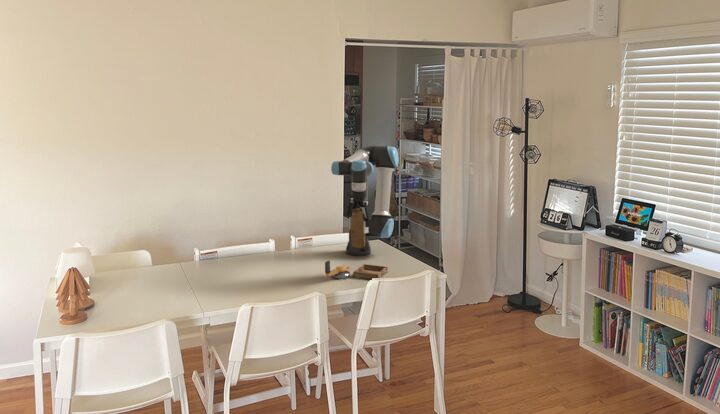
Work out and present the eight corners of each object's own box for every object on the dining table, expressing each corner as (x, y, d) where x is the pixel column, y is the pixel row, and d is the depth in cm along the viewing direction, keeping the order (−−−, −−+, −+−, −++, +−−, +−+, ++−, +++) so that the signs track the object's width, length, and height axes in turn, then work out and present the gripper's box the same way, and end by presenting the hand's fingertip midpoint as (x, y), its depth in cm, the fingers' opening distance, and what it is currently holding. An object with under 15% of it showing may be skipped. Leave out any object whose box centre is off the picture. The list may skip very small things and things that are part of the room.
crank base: (335, 272, 334) (335, 267, 333) (353, 275, 330) (353, 269, 330) (328, 278, 325) (328, 273, 324) (345, 280, 321) (345, 275, 320)
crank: (344, 267, 333) (344, 254, 331) (351, 269, 330) (351, 255, 328) (322, 275, 320) (322, 261, 318) (329, 277, 317) (329, 262, 315)
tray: (364, 269, 340) (364, 264, 339) (387, 272, 335) (387, 266, 334) (353, 277, 326) (353, 271, 326) (377, 280, 321) (377, 274, 321)
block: (364, 248, 325) (365, 211, 321) (350, 248, 325) (350, 211, 321) (365, 243, 335) (366, 207, 331) (352, 243, 336) (352, 207, 332)
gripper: (339, 188, 331) (339, 228, 335) (368, 193, 313) (367, 236, 317) (350, 186, 336) (350, 226, 340) (379, 192, 318) (378, 233, 322)
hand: (358, 231), depth 329 cm, fingers closed on block, 11 cm apart
